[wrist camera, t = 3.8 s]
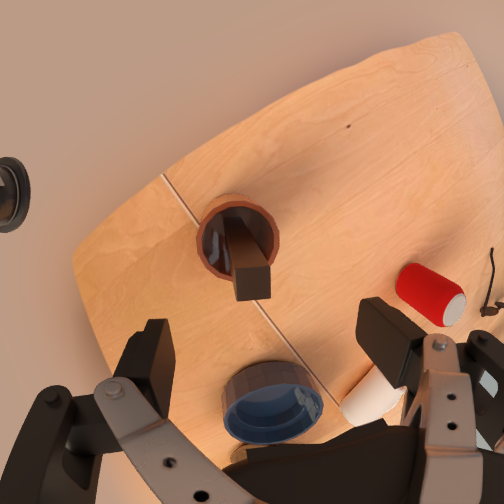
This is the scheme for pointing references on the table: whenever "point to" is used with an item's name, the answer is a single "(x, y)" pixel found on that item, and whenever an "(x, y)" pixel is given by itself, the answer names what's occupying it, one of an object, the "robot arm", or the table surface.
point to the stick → (246, 262)
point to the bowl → (270, 403)
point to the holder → (213, 235)
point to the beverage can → (431, 294)
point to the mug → (370, 398)
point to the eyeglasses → (489, 310)
